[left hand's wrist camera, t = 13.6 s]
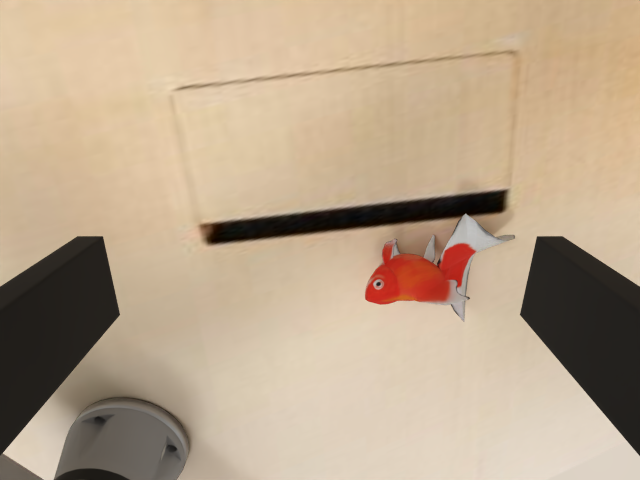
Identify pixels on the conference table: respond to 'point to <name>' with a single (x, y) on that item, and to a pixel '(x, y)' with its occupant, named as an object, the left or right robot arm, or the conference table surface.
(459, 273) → the fish
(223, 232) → the conference table surface
